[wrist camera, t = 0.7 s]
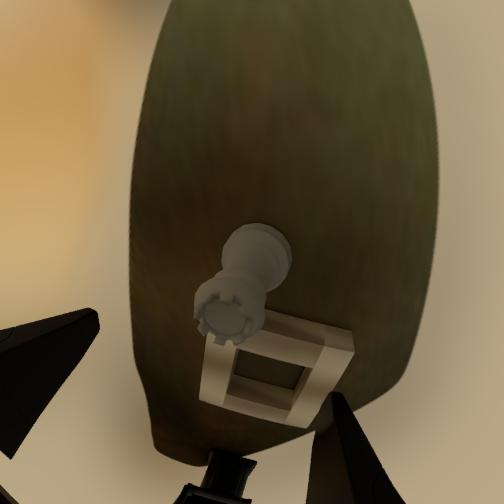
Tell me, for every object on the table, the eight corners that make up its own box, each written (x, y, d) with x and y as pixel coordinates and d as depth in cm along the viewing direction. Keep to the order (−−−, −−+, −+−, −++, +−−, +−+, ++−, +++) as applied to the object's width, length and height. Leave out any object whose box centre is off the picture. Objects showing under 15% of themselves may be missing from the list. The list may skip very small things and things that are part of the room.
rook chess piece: (276, 294, 19) (251, 376, 12) (218, 267, 19) (164, 334, 12) (304, 238, 17) (296, 304, 10) (240, 209, 17) (186, 253, 10)
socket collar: (308, 408, 23) (306, 428, 20) (208, 380, 24) (199, 399, 21) (351, 330, 19) (354, 352, 16) (221, 296, 20) (210, 314, 18)
